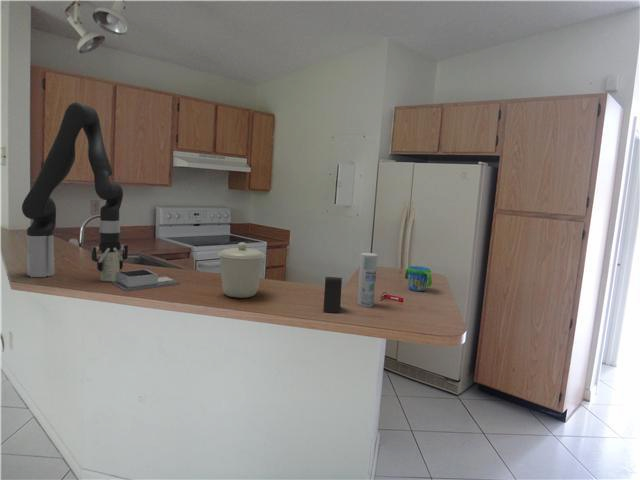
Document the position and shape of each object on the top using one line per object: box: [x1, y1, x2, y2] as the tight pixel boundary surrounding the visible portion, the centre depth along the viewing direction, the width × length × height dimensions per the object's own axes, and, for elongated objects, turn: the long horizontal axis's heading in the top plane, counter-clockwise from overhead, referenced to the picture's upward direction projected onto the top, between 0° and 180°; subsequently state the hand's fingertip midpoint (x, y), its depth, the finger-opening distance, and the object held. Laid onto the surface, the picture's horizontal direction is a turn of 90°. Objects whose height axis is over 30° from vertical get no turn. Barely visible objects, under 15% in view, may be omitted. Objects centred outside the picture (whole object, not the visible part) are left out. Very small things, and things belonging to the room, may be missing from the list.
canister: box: [217, 241, 266, 299], centre depth 168 cm, size 18×18×21 cm
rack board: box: [112, 268, 181, 292], centre depth 176 cm, size 22×14×5 cm, turn 135°
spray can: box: [357, 252, 379, 308], centre depth 165 cm, size 6×6×20 cm
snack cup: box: [404, 265, 433, 293], centre depth 195 cm, size 16×10×10 cm
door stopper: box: [323, 276, 343, 314], centre depth 156 cm, size 9×6×12 cm, turn 179°
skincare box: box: [99, 251, 121, 282], centre depth 178 cm, size 6×4×12 cm
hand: (109, 270), depth 178 cm, fingers closed on skincare box, 7 cm apart
